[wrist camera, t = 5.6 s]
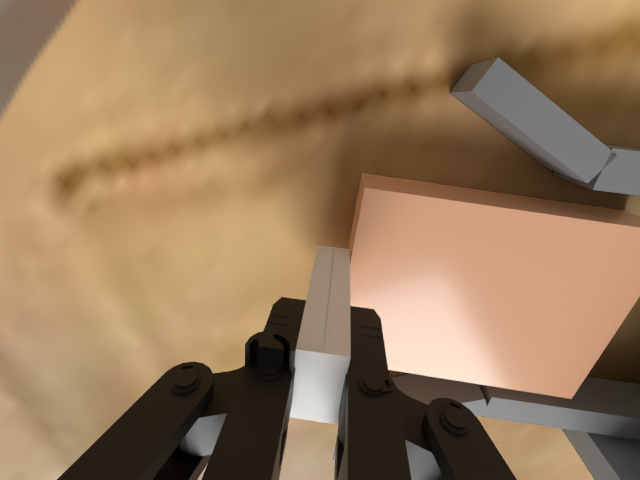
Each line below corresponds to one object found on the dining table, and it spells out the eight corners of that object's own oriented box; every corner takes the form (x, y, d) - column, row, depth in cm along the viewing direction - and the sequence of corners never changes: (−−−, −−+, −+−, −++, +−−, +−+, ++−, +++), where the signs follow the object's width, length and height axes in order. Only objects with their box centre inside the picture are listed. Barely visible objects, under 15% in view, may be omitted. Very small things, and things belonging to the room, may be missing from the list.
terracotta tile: (334, 322, 19) (331, 360, 16) (361, 171, 15) (364, 187, 12) (538, 354, 18) (571, 398, 16) (618, 208, 14) (681, 233, 12)
